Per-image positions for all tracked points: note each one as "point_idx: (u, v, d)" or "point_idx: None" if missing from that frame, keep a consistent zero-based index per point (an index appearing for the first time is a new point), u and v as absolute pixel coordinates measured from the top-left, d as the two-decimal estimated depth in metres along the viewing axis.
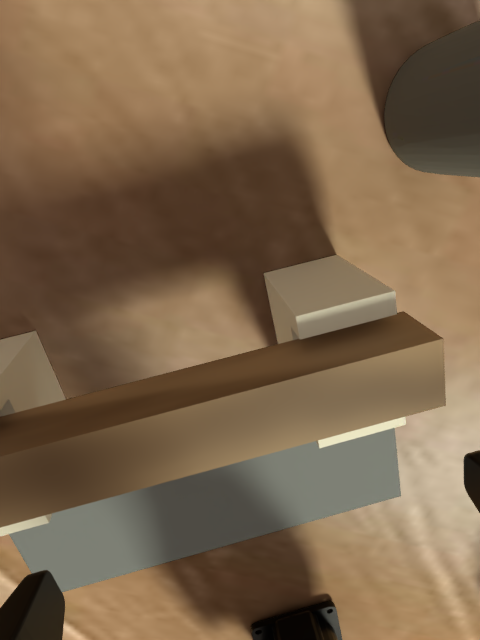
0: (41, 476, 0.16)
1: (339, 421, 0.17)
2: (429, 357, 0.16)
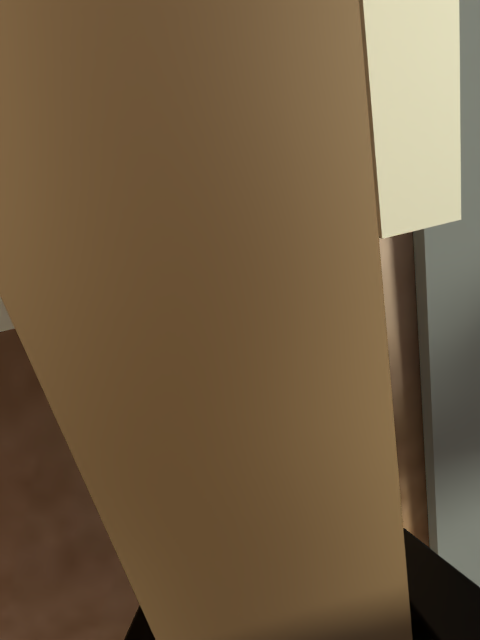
0: None
1: (301, 230, 0.03)
2: None
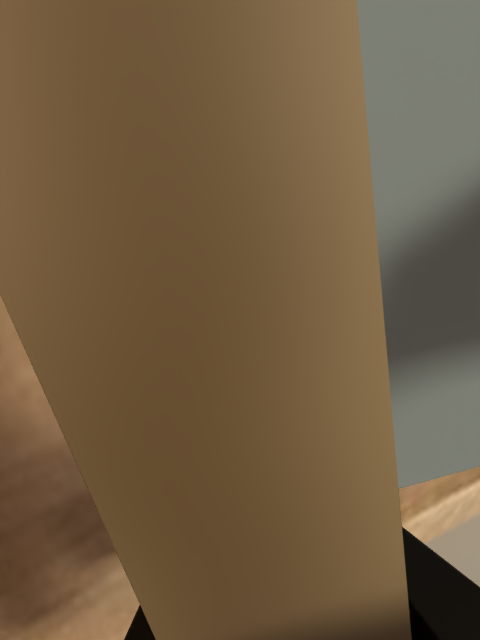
0: None
1: (300, 229, 0.03)
2: None
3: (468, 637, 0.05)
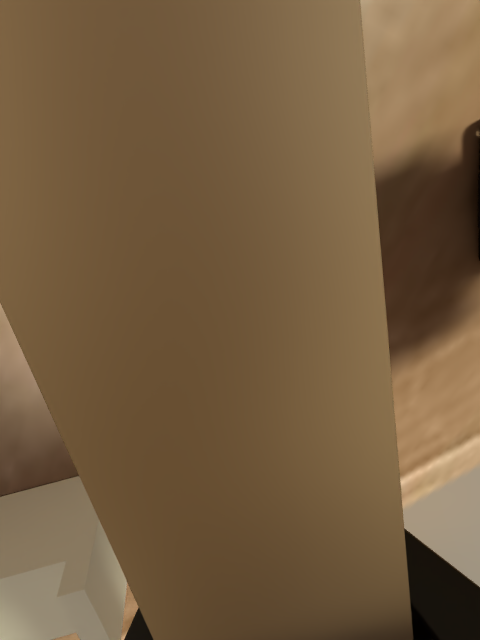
0: None
1: (302, 231, 0.03)
2: None
3: (468, 636, 0.05)
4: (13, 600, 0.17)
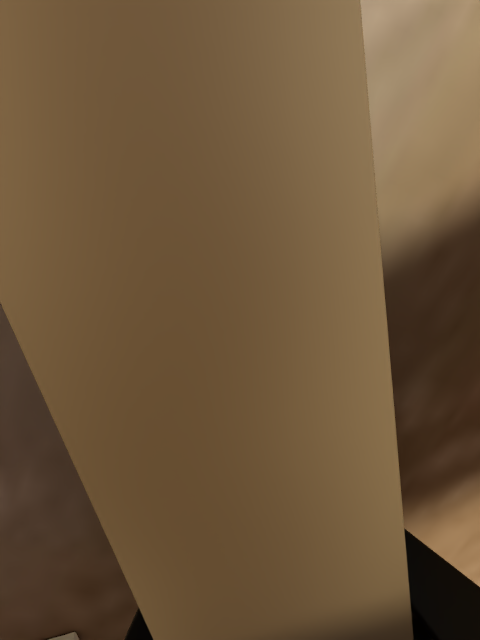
0: None
1: (303, 232, 0.03)
2: None
3: (468, 637, 0.05)
4: None
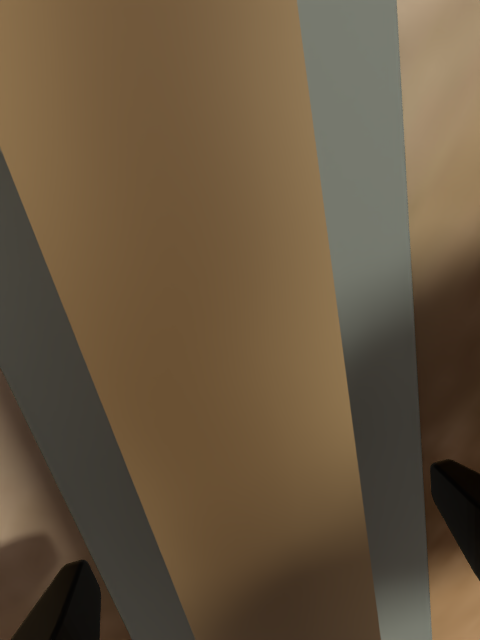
0: None
1: (267, 211, 0.05)
2: None
3: None
4: None
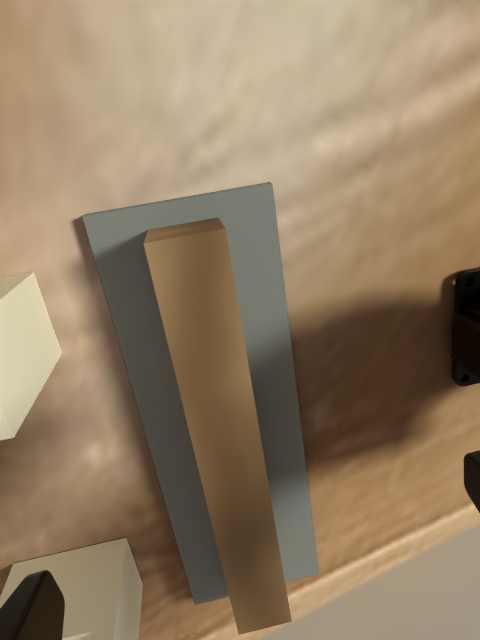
0: (243, 545, 0.21)
1: (228, 338, 0.17)
2: (164, 255, 0.16)
3: None
4: None
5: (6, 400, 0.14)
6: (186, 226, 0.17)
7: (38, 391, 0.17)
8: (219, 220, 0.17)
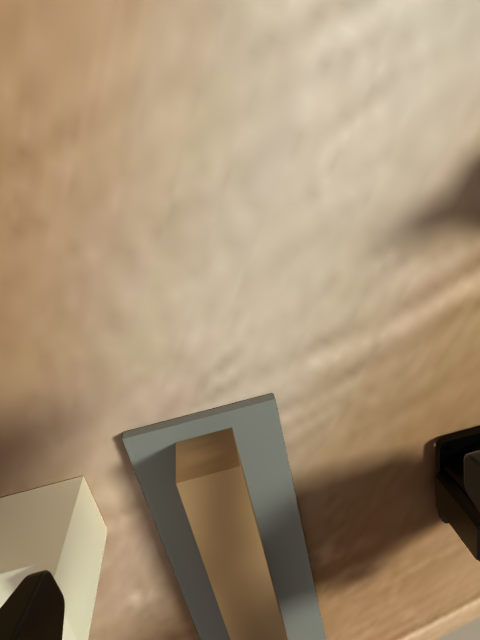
0: None
1: (246, 537, 0.21)
2: (192, 489, 0.20)
3: None
4: None
5: (78, 625, 0.18)
6: (207, 445, 0.21)
7: (96, 589, 0.21)
8: (233, 437, 0.21)
